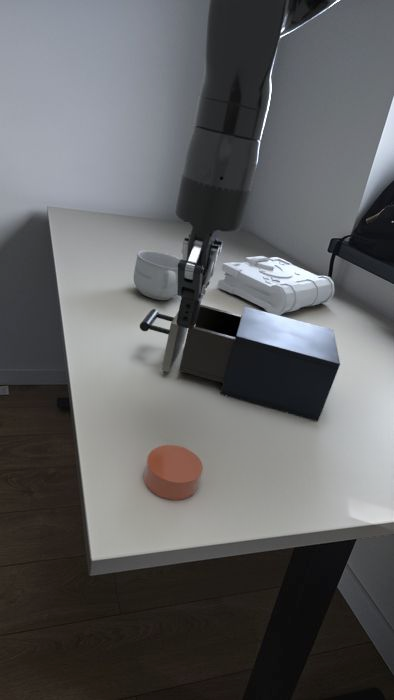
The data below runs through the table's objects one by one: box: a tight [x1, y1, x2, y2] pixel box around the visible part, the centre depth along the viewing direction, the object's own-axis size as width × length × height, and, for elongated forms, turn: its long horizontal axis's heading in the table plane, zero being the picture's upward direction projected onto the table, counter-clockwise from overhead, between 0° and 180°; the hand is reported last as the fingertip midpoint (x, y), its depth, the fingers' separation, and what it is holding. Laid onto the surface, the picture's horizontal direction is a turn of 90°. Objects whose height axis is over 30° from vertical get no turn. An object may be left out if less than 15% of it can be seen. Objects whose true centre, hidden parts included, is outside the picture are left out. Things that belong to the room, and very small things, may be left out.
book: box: [216, 255, 336, 316], centre depth 118 cm, size 19×28×8 cm
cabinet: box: [220, 306, 341, 422], centre depth 75 cm, size 15×13×10 cm
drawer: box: [139, 304, 242, 384], centre depth 76 cm, size 18×11×8 cm, turn 80°
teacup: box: [133, 250, 183, 301], centre depth 100 cm, size 14×11×8 cm
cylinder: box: [143, 444, 204, 501], centre depth 53 cm, size 6×6×2 cm
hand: (185, 325), depth 60 cm, fingers closed
